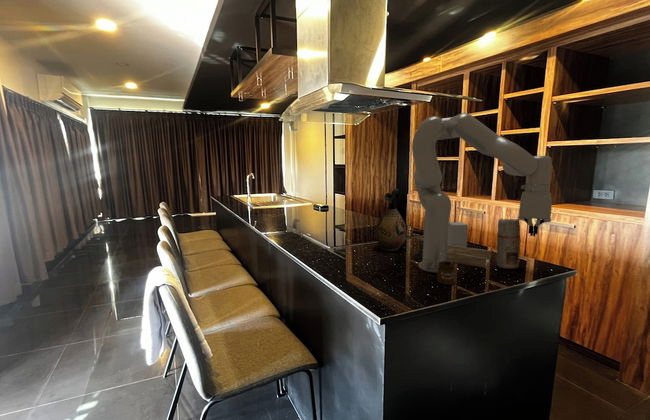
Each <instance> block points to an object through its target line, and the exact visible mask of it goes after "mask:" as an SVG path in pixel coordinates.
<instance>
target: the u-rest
mask: <svg viewBox="0 0 650 420" xmlns="http://www.w3.org/2000/svg"><path fill="white" fill-rule="evenodd" d="M454 249H455V250H457V252H456V255H455V258H454V259H453V262H452V263H453V264H459V265H465V266H470V267H471V266H472V267H477V268H482V269H483V268H487V266H488V264H489V263H490V261H491V259H492V250H489V249H482V248H474V247H460V246H452V245H448V256H447V262H451V261H452V255H453V252H454Z"/></svg>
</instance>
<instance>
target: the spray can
mask: <svg viewBox="0 0 650 420" xmlns="http://www.w3.org/2000/svg"><path fill="white" fill-rule="evenodd" d="M496 236H497V238H496V242H497V243H496V266H497V267H499V268H502V269H507V270H508V269H510V270H512V269H518V268H520V266H519V263H520V253H521V252H520V251H521V223H520V220H519V219H518V218H515V219H514V218H513V219H512V218H506V219H502V218H501V219H499V220H498V222H497V235H496Z"/></svg>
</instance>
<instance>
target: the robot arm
mask: <svg viewBox="0 0 650 420" xmlns="http://www.w3.org/2000/svg"><path fill="white" fill-rule="evenodd" d="M456 138H459V139H460V140H463V142H465V143H467V144H468V145H470V146H471V147H472V148H473V149H475V150H476V151H477V152H479V153H480V154H483V155H485V156H488V157H492V158H494V159H497V160H499V161H501V162H502V170H503V171H504V173H506V174H508V175H510V176H516V177H517V176H519V177H525V184H523V185H522V184H521V186H520V189H522V190H524V191H522V192H521V197H520V202H519V208H518V210H519V211H518V217H517V219H519V221H523V222H525V223H526V224H527V225H528V233H527V234H530V235H529V236H530V237H536V235H538V234H539V233H538V232H539V227H540V225H543V224H545V223H551V222H552V217H551V215H552V208H553V207H552V203H553V202H552V192H550V182H551V181H550V180H551V170H552V163H553V162H552V157H551V156H549V155H532V154H531V153H529V152H528V151H527V150H525V149H524V148H523V147H521V146H520V145H518V144H517V143H515V142H513V141H510V140H509V139H507V138H506V137H503V136H502V135H500V134H498V133H496V132H495V131H493V130H491V128H489V127H487V126H486V125H485V124H484V123H483V122H481V121H479V119H477V118H476V117H475V116H473V115H472V114H469V113H466V112H463V113H459V114H457V115H455V116H452V117H445V118H443V117H442V118H441V117H439V116H436V115H435V116H434V115H433V116H430V117H429V116H428V117H427V118H425V119H424V120H423V121H421V122H420V123H419V125H418V127H417V130H416V131H415V132H414V135H413V138H412V143H411V151H412V157H413V161H414V165H415V166H414V167H415V171H414V174H413V180H414V184H415V188H416V191H417V195H418V199H419V202H420V205H421V207H422V208H423V209H424V217H423V218H424V219H423V229H422V230H423V236H422V237H423V239H422V260H421V261H420V262H419V263H418V268H419V269H421V270H422V271H425V272H428V273H434V274H435V273H436V274H437V270H438V267H439V261H440V262H442V261H447V256H448V233H449V223H450V218H451V211H452V201H451V198H450V196H449V194H447V193H445V192H444V191H442V189H441V185H440V184H441V182H442V180H443V174H442V171H441V168H440V164H439V160H438V155H437V151H436V144H437V141H441V140H442V141H443V140H448V139H450V140H451V139H456ZM533 219H534V220H536V222H535V224H534V223H533ZM441 252H442V253H441ZM440 253H441V254H440ZM442 254H443V256H442ZM444 255H445V256H444ZM438 257H439V258H438Z"/></svg>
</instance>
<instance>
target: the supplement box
mask: <svg viewBox="0 0 650 420" xmlns="http://www.w3.org/2000/svg"><path fill="white" fill-rule="evenodd" d="M468 229H469V224H466V223H465V222H462V221H461V222H460V221H458V222H453V221H452V222H450V221H449V233H448V245H452V246H460V247H467V246H468ZM467 248H468V247H467Z"/></svg>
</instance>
